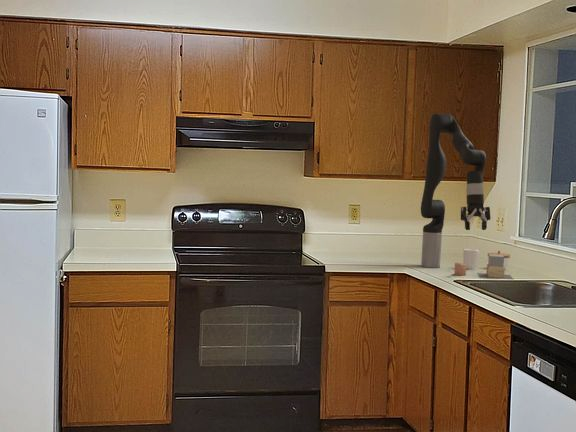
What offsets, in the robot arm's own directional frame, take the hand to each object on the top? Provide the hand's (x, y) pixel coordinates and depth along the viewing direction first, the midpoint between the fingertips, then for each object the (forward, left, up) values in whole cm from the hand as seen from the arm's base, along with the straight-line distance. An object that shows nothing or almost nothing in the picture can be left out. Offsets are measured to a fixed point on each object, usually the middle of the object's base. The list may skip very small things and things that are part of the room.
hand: (475, 230), depth 336 cm
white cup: (-27, +2, -23) cm, 36 cm away
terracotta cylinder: (-5, -5, -22) cm, 24 cm away
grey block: (-7, +11, -17) cm, 21 cm away
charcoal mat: (-7, +11, -22) cm, 26 cm away
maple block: (-7, +11, -22) cm, 25 cm away
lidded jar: (-34, +16, -23) cm, 44 cm away
